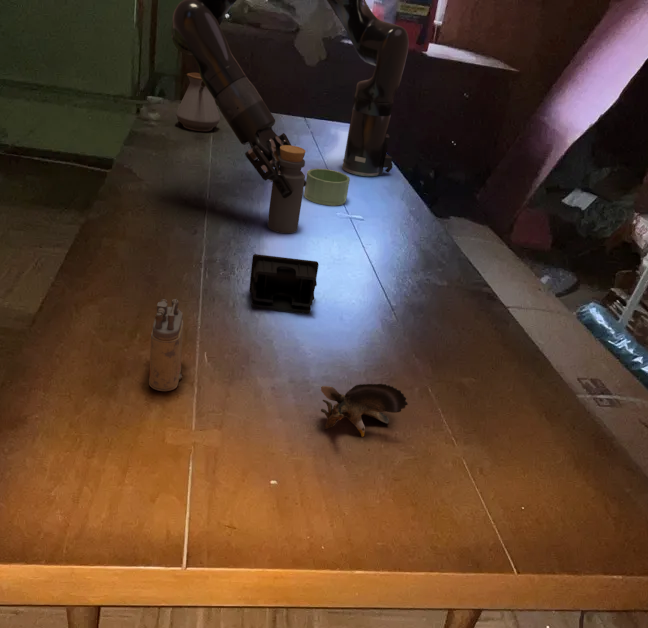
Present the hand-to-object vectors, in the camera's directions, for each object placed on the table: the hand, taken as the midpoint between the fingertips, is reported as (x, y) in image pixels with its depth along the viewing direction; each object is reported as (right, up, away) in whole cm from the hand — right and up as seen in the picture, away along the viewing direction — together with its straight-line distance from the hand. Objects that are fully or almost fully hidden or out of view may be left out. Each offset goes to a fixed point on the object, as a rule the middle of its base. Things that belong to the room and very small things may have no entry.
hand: (295, 191), depth 136 cm
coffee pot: (-26, +30, +53) cm, 67 cm away
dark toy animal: (+8, -42, -48) cm, 64 cm away
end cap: (-2, -24, -22) cm, 32 cm away
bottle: (-3, -6, +5) cm, 8 cm away
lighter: (-15, -36, -45) cm, 59 cm away
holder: (+6, +5, +23) cm, 25 cm away
